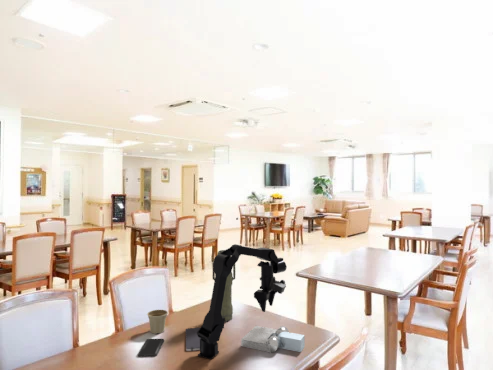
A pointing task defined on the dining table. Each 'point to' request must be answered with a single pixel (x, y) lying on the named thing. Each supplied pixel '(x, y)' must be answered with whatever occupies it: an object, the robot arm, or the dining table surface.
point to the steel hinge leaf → (263, 338)
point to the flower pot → (157, 320)
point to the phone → (151, 348)
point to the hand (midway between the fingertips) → (267, 308)
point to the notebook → (192, 339)
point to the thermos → (227, 294)
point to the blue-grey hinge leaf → (291, 341)
